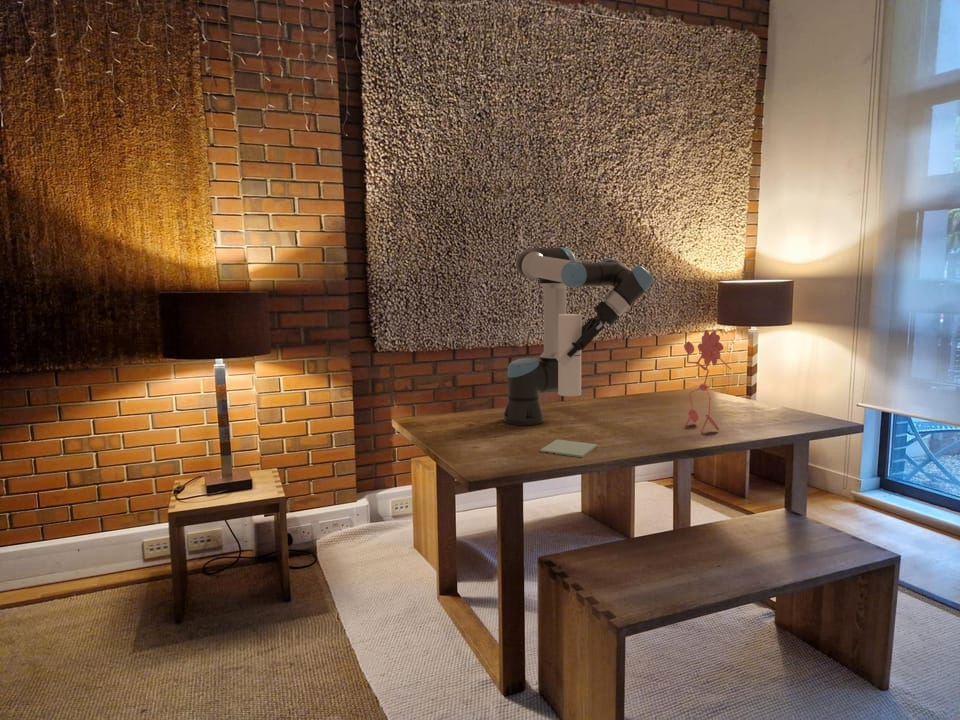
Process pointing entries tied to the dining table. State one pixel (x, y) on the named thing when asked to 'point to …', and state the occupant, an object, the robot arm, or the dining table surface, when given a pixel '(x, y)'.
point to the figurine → (709, 353)
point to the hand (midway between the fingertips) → (558, 361)
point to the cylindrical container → (572, 369)
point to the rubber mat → (569, 448)
